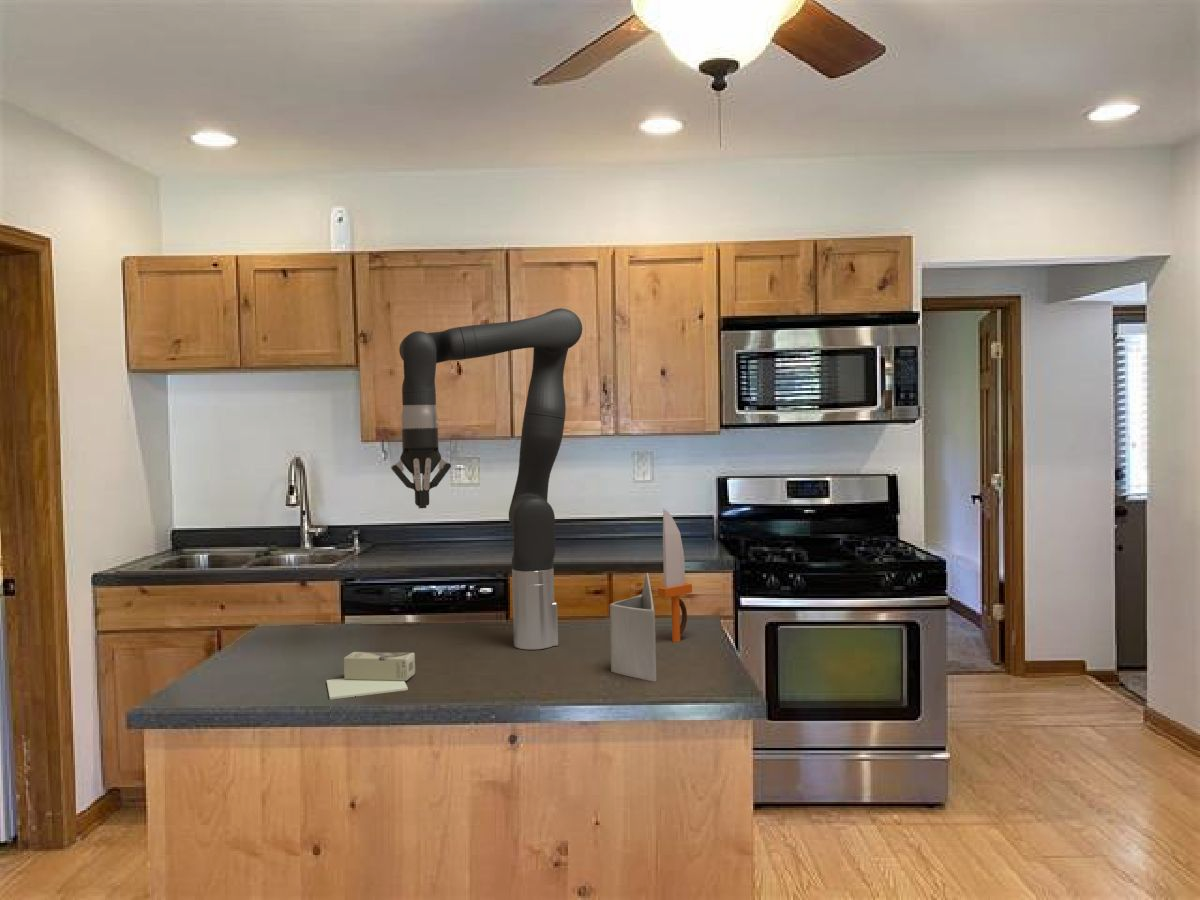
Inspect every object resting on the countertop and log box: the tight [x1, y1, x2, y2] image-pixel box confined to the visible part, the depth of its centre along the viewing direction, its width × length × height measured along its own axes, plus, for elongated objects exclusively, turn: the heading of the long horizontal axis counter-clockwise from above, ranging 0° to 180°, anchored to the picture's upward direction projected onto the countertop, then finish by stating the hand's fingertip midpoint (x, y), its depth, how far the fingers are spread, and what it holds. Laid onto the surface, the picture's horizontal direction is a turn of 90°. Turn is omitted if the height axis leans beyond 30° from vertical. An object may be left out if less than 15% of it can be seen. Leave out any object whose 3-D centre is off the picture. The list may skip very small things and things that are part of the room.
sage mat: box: [326, 678, 409, 701], centre depth 170 cm, size 14×12×1 cm
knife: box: [657, 508, 693, 643], centre depth 199 cm, size 8×2×30 cm, turn 129°
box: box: [343, 651, 416, 682], centre depth 175 cm, size 5×4×13 cm
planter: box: [609, 572, 657, 683], centre depth 176 cm, size 16×8×19 cm, turn 4°
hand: (422, 507), depth 190 cm, fingers closed
